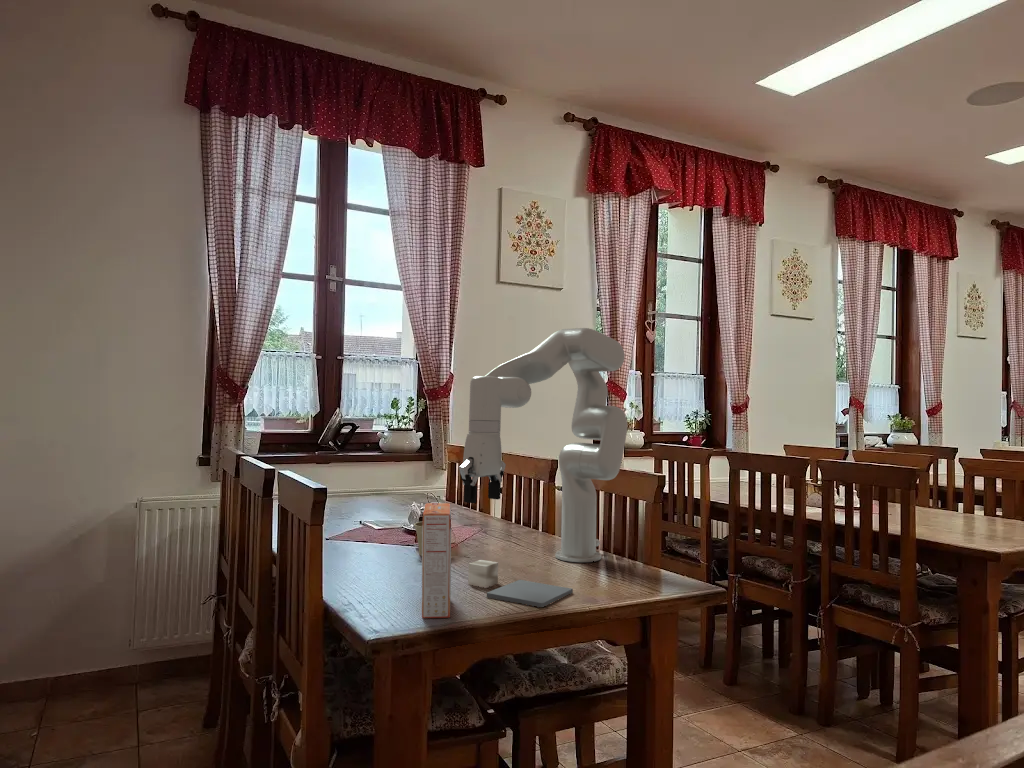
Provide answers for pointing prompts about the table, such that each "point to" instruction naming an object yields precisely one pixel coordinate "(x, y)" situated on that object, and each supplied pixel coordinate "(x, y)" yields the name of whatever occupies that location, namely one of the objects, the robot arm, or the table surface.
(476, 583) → the cream cube
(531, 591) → the slate board
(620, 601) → the table surface
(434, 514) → the cracker box
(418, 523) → the flower pot
